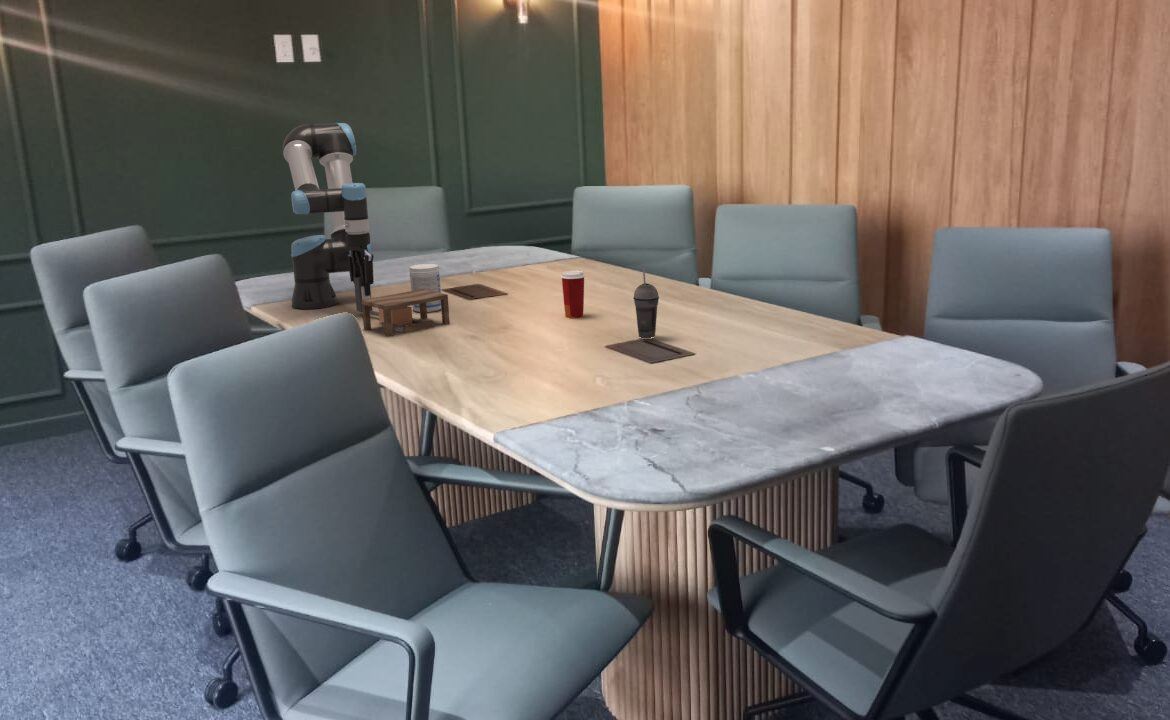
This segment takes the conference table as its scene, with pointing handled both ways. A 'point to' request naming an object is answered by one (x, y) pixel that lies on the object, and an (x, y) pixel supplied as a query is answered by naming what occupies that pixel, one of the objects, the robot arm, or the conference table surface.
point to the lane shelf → (402, 301)
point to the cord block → (397, 315)
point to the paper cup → (573, 293)
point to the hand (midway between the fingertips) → (364, 304)
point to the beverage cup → (646, 308)
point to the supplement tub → (426, 283)
